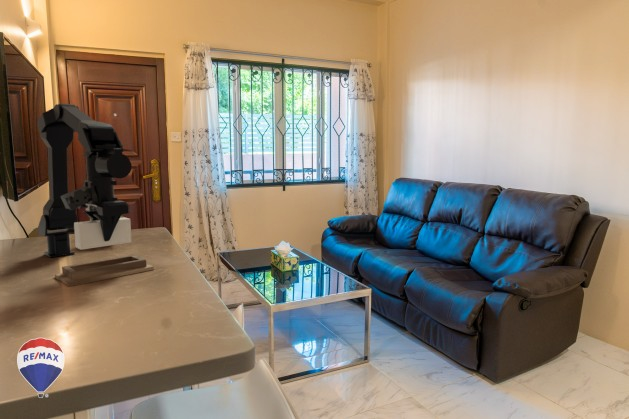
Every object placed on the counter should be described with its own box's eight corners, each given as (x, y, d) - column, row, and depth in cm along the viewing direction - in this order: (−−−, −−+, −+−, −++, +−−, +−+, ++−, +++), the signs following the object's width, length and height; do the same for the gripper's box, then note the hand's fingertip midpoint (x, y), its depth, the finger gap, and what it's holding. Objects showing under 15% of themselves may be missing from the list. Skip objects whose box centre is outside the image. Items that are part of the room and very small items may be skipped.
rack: (55, 277, 106) (54, 266, 105) (136, 262, 120) (136, 253, 120) (68, 286, 99) (67, 275, 99) (153, 269, 113) (153, 259, 113)
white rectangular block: (75, 247, 106) (73, 222, 105) (125, 240, 114) (124, 217, 113) (80, 249, 103) (79, 224, 102) (131, 242, 112) (130, 218, 111)
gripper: (51, 175, 107) (55, 238, 109) (77, 180, 94) (81, 251, 96) (99, 174, 115) (102, 233, 117) (129, 178, 102) (132, 243, 104)
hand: (103, 239), depth 108 cm, fingers closed on white rectangular block, 3 cm apart
